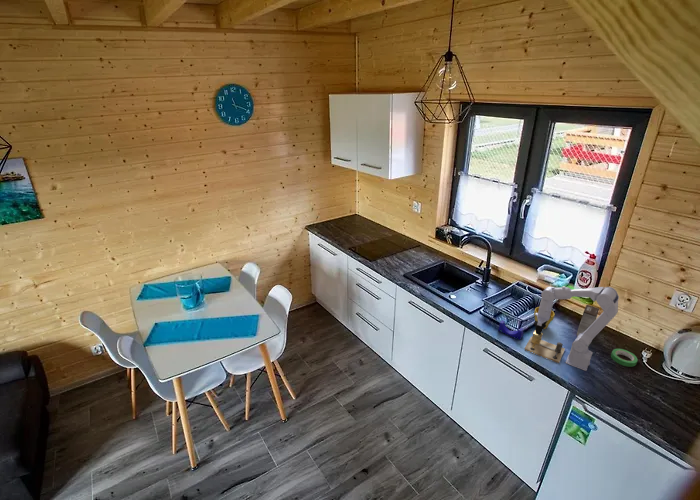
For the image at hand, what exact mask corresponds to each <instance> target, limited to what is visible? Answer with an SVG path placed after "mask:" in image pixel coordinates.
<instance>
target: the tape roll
mask: <svg viewBox="0 0 700 500" xmlns="http://www.w3.org/2000/svg"><path fill="white" fill-rule="evenodd" d="M619 355H622V356H625V357H627V358H629V359H630V360H626V359H623V358H621V357H620V356H619ZM610 357H611V359H612V360H613V362H615V363H617V364H618V365H621V366H623V367H630V368H632V367H635V366H636V365H637V363H638V358H637V356H636V355H635V353H633V352H630V351H628V350H626V349H623V348H614V349H613V350H612V351H611V354H610Z"/></svg>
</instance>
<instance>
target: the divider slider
mask: <svg viewBox="0 0 700 500" xmlns="http://www.w3.org/2000/svg"><path fill="white" fill-rule="evenodd" d="M543 335H544V333H543V332H541V334H540V335H538V334H536V331H535V330H534V331H533V334H532V341H531V342H532V343H534V345H533V347H532V349H534V346H535V344H538V345H539V344H540V342H541V340H543Z"/></svg>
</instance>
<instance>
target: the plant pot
mask: <svg viewBox="0 0 700 500" xmlns="http://www.w3.org/2000/svg"><path fill="white" fill-rule="evenodd" d="M539 307H540V306H538V307H535V309H534V313H533V316H534V322H535V321H538V319H537V316H536V315H535V313H538V311H539ZM550 316H551V317H550V319H549V320H548V321H547V322H546V324H545V325H546V327H545V328H544V329H543V330H545V329H547V328H548V327H549V325H550V323H551V322H552V321H553V320H554V318H555V312H554V311H553V310H551V314H550Z"/></svg>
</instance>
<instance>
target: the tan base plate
mask: <svg viewBox="0 0 700 500" xmlns="http://www.w3.org/2000/svg"><path fill="white" fill-rule="evenodd" d="M532 337H533V335H532V336H530V337H529V339H528V342H526V345H525V347H524V349H525V350H524V349H523V350H524V351H526V350H527V351H526V352H528V351H530V352H529V353H531V352H533V353H532V354H534V353H535V354H534V355H536V354H537V356H539V357H541V356H542V358H544V359H546V358H547V360H549V361H551V360H552V361H551V362H554V363H557V364H560V362H561V360H562V357H563V355H564V352H565V350H566V348H565V347H563V345H564V344H563V343H562V342H557V343H556V344H554V343H551V342H548V341H546V340H543V339H541V342H540V344H539V345H538V344H535V346H534V349H532V347H533V345H534V343H532V342H531V341H532Z"/></svg>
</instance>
